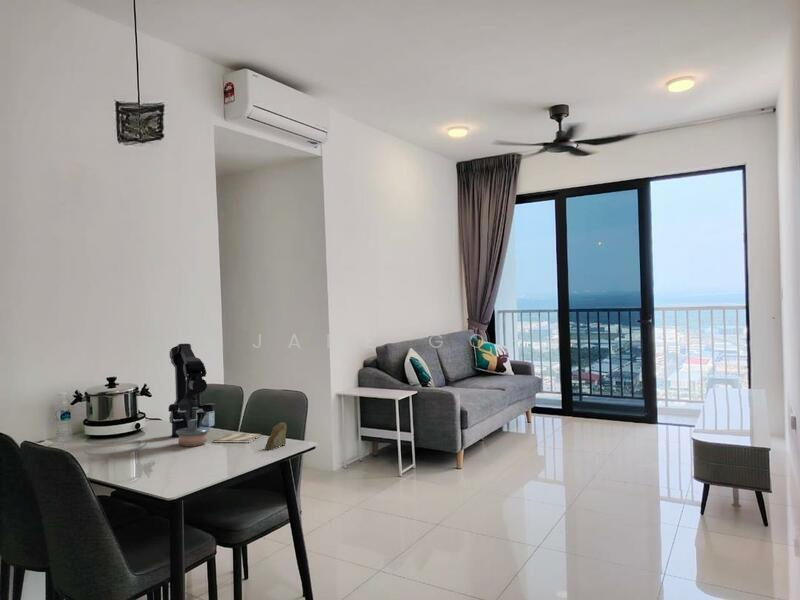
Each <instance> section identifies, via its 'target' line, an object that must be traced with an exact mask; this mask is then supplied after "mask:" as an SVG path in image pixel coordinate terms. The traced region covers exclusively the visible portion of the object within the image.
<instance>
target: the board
mask: <svg viewBox="0 0 800 600" xmlns="http://www.w3.org/2000/svg"><path fill="white" fill-rule="evenodd" d="M246 434H247V433H225V434H223V435H221V436H218V437H217V438H214V439H213V440H212V442H213V441H251V440H253V439H254V438H256V437H257V436H261V437H262V433H249V434H250V435H246ZM251 435H257V436H251Z"/></svg>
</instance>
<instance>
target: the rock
mask: <svg viewBox="0 0 800 600" xmlns="http://www.w3.org/2000/svg"><path fill="white" fill-rule="evenodd" d="M286 434H287V423H286V422H284V421H283V422H278V423H277V424H276V425H274V426H273V427H272V431H271V433H270V436H268V438H267V442H266V444H265V446H264V449H265V450H268V451H269V450H272V449H273V448H274V449H277V448H276V447H278V448H280V447H279V446H281V447H283V446H282V445H284V446H286V445H285V444H286V442H287V441H286V440H287V438H286V436H287V435H286Z"/></svg>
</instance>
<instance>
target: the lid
mask: <svg viewBox="0 0 800 600" xmlns="http://www.w3.org/2000/svg"><path fill="white" fill-rule="evenodd" d="M209 432H210V427H200V428H197V419H196V418H194V419H193V418H192V419H191V420H188V428H182V429H178V430H176V434H177V435H198V434H204V433H207V434H208V433H209Z"/></svg>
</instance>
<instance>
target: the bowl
mask: <svg viewBox="0 0 800 600" xmlns="http://www.w3.org/2000/svg"><path fill="white" fill-rule="evenodd" d="M207 434H208V432H207V433H204V434H198V435H179V437H177V438H178V442H177V443H178V445H181V446H182V447H187V446H190V447H198V446H197V445H199V446H202V445H203V444H204V443H206V442H207V441H208V439H207V438H208V435H207ZM202 443H203V444H202ZM201 444H202V445H201Z"/></svg>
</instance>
